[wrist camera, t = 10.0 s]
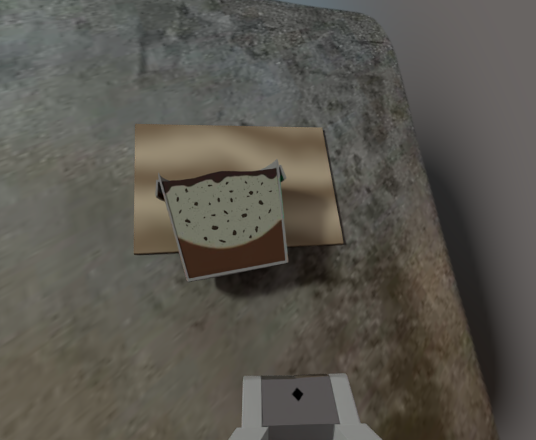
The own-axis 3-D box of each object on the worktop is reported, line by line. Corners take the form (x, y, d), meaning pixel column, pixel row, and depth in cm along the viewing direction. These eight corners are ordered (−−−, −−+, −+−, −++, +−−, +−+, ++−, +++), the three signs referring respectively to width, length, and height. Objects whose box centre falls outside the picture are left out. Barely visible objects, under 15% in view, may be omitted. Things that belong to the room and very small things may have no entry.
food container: (285, 264, 43) (268, 176, 44) (303, 259, 37) (282, 158, 38) (170, 286, 39) (155, 190, 41) (169, 285, 33) (151, 173, 35)
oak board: (342, 244, 43) (343, 243, 43) (134, 254, 39) (133, 253, 38) (321, 129, 49) (322, 127, 48) (135, 126, 44) (135, 124, 44)
